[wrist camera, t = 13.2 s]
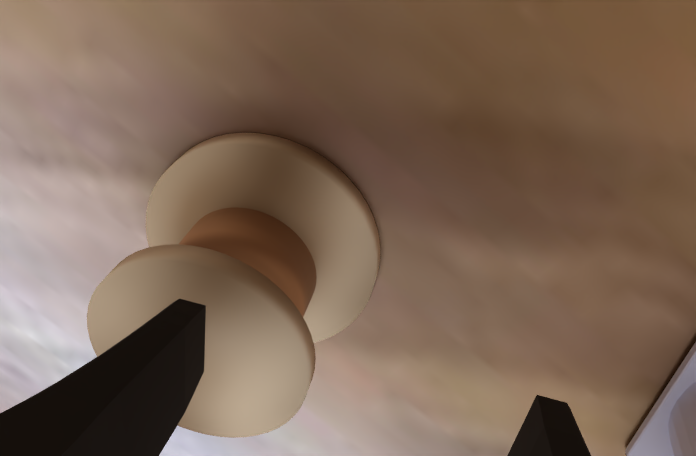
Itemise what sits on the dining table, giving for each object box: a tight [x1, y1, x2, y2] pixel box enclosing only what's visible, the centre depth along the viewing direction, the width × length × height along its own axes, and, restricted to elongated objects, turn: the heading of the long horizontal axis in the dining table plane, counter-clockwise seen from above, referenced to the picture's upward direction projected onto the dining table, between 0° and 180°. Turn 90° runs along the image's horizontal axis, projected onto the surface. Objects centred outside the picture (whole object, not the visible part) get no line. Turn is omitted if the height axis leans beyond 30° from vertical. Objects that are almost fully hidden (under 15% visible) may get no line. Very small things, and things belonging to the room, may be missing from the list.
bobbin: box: [87, 133, 380, 437], centre depth 21 cm, size 9×9×6 cm
